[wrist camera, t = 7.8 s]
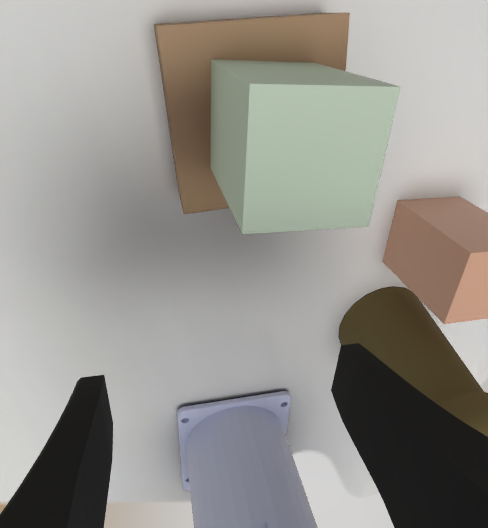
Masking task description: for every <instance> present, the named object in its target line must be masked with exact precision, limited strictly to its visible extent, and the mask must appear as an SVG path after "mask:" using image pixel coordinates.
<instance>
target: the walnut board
mask: <svg viewBox="0 0 488 528" xmlns="http://www.w3.org/2000/svg"><path fill="white" fill-rule="evenodd" d="M349 15H350V13H314V14H299V15H285V16H270V17H255V18H240V19H226V20H211V21H196V22H182V23H167V24H154V29H155V36H156V42H157V49H158V56H159V63H160V69H161V76H162V83H163V89H164V96H165V103H166V110H167V116H168V123H169V130H170V136H171V143H172V150H173V157H174V163H175V170H176V177H177V183H178V190H179V195H180V199H181V204H182V208H183V212H184V214H189V213H196V212H203V211H210V210H217V209H224V208H229V206H228V204H227V201H226V199H225V197H224V195H223V193H222V191H221V189H220V187H219V185H218V183H217V181H216V178H215V176H214V174H213V172H212V170H211V168H210V164H211V59H217V60H247V61H277V62H307V63H318V64H321V65H325V66H328V67H332V68H335V69H339V70H343V71H345V69H346V56H347V42H348V29H349Z"/></svg>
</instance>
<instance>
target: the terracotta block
mask: <svg viewBox="0 0 488 528" xmlns="http://www.w3.org/2000/svg"><path fill="white" fill-rule="evenodd" d="M383 263H384V264H385V265H386V266H387V267H388V268H389V269H390V270H391V271H392V272H393V273H394V274H395V275H396V276H397V277H398V278H399V279H400V280H401V281H402V282H403V283H404V284H405V285H406V286H407V287H408V288H409V289H410V290H411V291H412V292H413V293H414V294H415V295H416V296H417V297H418V298H419V299H420V300H421V301H422V302H423V303H424V304H425V305H426V306H427V307H428V308H429V309H430V310H431V311H432V312H433V313H434V314H435V315H436V316H437V317H438V318H439V319H440V320H441V321H442V322H443V323H444V324H448V323H456V322H463V321H471V320H478V319H486V318H488V213H487V212H486V211H484V210H482V209H480V208H479V207H477V206H475V205H473V204H472V203H470V202H468V201H466V200H465V199H463V198H461V197H446V198H429V199H413V200H398V201H397V205H396V209H395V213H394V217H393V221H392V225H391V229H390V233H389V237H388V241H387V245H386V250H385V254H384V258H383Z"/></svg>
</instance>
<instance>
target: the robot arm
mask: <svg viewBox="0 0 488 528" xmlns="http://www.w3.org/2000/svg"><path fill="white" fill-rule="evenodd" d="M331 391H332V394H333V397H334V400H335V402H336V405H337V408H338V411H339V413H340V416H341V418H342V421H343V423H344V425H345V427H346V429H347V431H348V433H349V435H350V437H351V439H352V441H353V442H354V444H355V446H356V448H357V450H358V452H359V454H360V456H361V458H362V460H363V462H364V463H365V465H366V467H367V469H368V471H369V473H370V475H371V477H372V479H373V481H374V483H375V484H376V486H377V488H378V490H379V493H380V495H381V497H382V499H383V501H384V503H385V506H386V508H387V510H388V513H389V515H390V518H391V520H392V523H393V525H394V527H395V528H488V437H487V436H485V435H484V434H482V433H481V432H479V431H477V430H476V429H474V428H473V427H471V426H469V425H468V424H466V423H464V422H463V421H461V420H460V419H458V418H457V417H455V416H454V415H452V414H451V413H449V412H448V411H446V410H445V409H444V408H442V407H441V406H439V405H438V404H436V403H435V402H434V401H432V400H431V399H429V398H428V397H427V396H425V395H424V394H423V393H421V392H420V391H419V390H417V389H416V388H415V387H413V386H412V385H411V384H410V383H408V382H407V381H406V380H404V379H403V378H402V377H401V376H399V375H398V374H397V373H396V372H394V371H393V370H392V369H391V368H389V367H388V366H387V365H386V364H384V363H383V362H382V361H381V360H380V359H378V358H377V357H376V356H375V355H373V354H372V353H371V352H370V351H368V350H367V349H366V348H365V347H363V346H362V345H361V344H359V343H355V344H347V345H341V348H340V353H339V357H338V362H337V367H336V371H335V376H334V380H333V385H332V389H331ZM290 403H291V396H290V393H289V392H287V391H281V392H275V393H269V394H262V395H256V396H249V397H243V398H236V399H230V400H223V401H217V402H210V403H204V404H198V405H191V406H185V407H181V408H180V409H179V410H178V411H177V419H178V432H179V445H180V458H181V471H182V484H183V489H184V490H185V491H190V493H191V502H192V510H193V520H194V528H317V525H316V522H315V519H314V516H313V513H312V511H311V508H310V505H309V502H308V499H307V496H306V493H305V491H304V488H303V485H302V482H301V479H300V476H299V473H298V470H297V467H296V465H295V462H294V459H293V456H292V453H291V450H290V447H289V445H288V442H287V439H286V431H287V424H288V417H289V410H290ZM112 447H113V421H112V415H111V410H110V405H109V399H108V394H107V388H106V383H105V377H104V375H99V376H91V377H83V378H80V379H79V380H78V381H77V384H76V386H75V389H74V391H73V393H72V395H71V397H70V399H69V402H68V404H67V406H66V408H65V410H64V412H63V414H62V416H61V417H60V419H59V421H58V423H57V425H56V427H55V429H54V430H53V432H52V434H51V436H50V438H49V439H48V441H47V443H46V445H45V446H44V448H43V450H42V452H41V453H40V455H39V457H38V458H37V460H36V461H35V463H34V464H33V466H32V468H31V469H30V471H29V472H28V474H27V476H26V477H25V479H24V480H23V482H22V484H21V485H20V487H19V488H18V489H17V491H16V492H15V494H14V495H13V497H12V498H11V500H10V501H9V503H8V504H7V505H6V507H5V508H4V510H3V511H2V513H1V514H0V528H104V520H105V512H106V504H107V497H108V489H109V481H110V473H111V465H112Z"/></svg>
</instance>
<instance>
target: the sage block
mask: <svg viewBox="0 0 488 528" xmlns="http://www.w3.org/2000/svg"><path fill="white" fill-rule="evenodd" d="M399 91H400V87H399V86H396V85H392V84H389V83H385V82H382V81H378V80H374V79H371V78H367V77H364V76H360V75H357V74H353V73H350V72H346V71H343V70H339V69H335V68H332V67H328V66H325V65H321V64H318V63H307V62H277V61H247V60H217V59H211V164H210V168H211V170H212V172H213V174H214V176H215V178H216V181H217V183H218V185H219V187H220V189H221V191H222V193H223V195H224V197H225V199H226V201H227V204H228V206H229V208H230V210H231V212H232V214H233V216H234V218H235V220H236V222H237V224H238V227H239V229H240V231H241V233H242V234H256V233H273V232H289V231H306V230H322V229H338V228H355V227H368V226H369V222H370V217H371V213H372V209H373V204H374V200H375V196H376V191H377V187H378V183H379V178H380V174H381V170H382V165H383V161H384V156H385V152H386V148H387V143H388V139H389V135H390V130H391V126H392V122H393V117H394V113H395V109H396V104H397V100H398V96H399Z"/></svg>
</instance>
